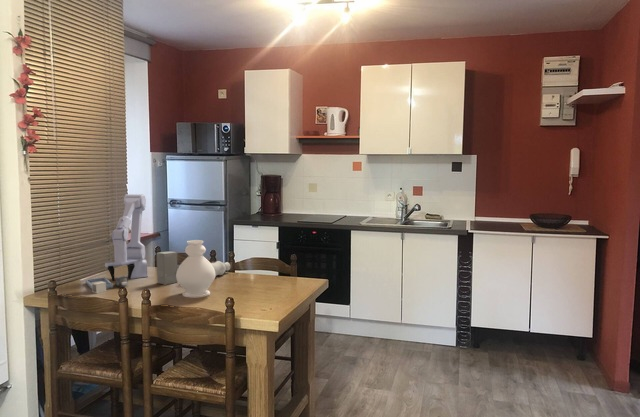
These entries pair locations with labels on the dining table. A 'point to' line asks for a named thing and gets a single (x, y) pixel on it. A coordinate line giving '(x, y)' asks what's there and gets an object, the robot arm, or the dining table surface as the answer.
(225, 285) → the dining table surface
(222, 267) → the bottle
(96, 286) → the block
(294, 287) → the dining table surface
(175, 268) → the skincare box
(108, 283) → the tray
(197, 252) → the decorative vase
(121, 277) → the plug
